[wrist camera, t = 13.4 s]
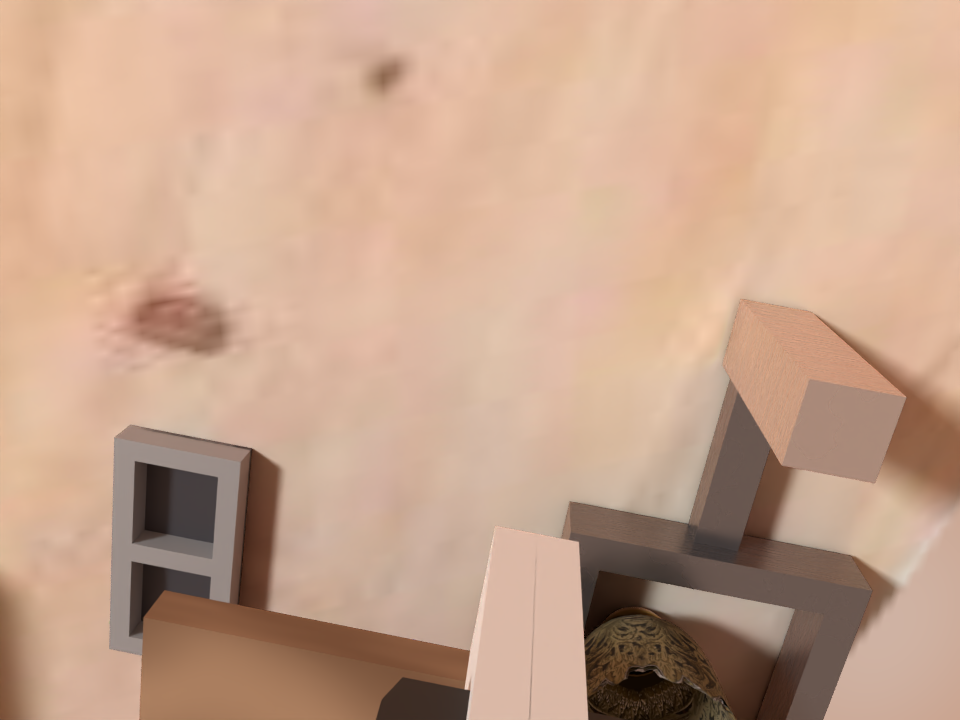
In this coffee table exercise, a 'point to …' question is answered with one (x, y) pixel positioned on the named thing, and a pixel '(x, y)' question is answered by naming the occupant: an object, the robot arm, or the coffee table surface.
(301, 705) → the tunnel
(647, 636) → the ornate patterned bowl
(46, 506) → the coffee table surface
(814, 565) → the grey angular frame
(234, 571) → the tray
